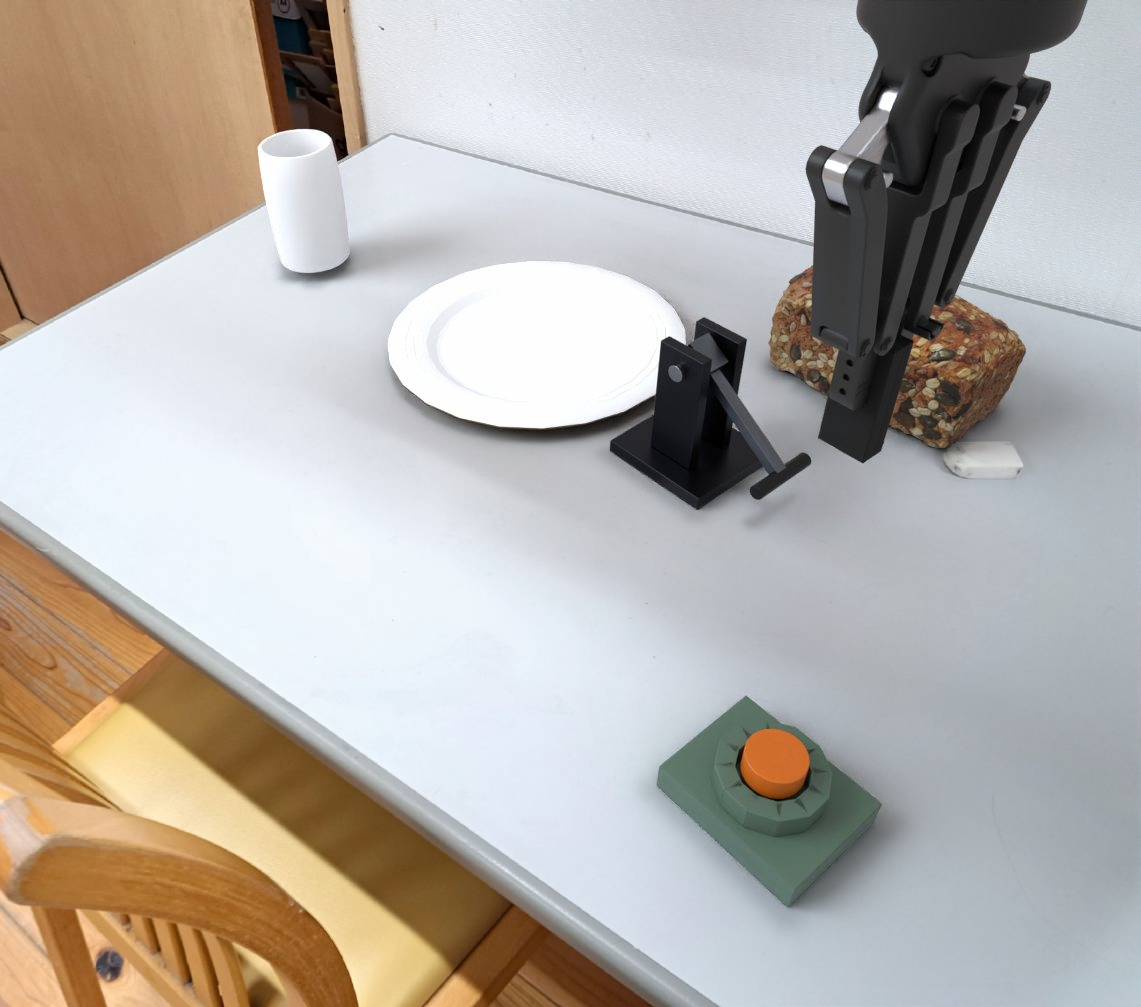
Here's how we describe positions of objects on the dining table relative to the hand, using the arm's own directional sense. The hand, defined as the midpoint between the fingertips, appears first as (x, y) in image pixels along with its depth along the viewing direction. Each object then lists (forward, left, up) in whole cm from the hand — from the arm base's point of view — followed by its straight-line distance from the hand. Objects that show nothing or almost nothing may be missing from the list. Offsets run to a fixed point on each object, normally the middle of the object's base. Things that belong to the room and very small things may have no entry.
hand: (849, 444), depth 49 cm
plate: (+42, -15, -22) cm, 50 cm away
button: (-4, +7, -18) cm, 20 cm away
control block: (-4, +7, -22) cm, 23 cm away
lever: (+17, -14, -16) cm, 27 cm away
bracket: (+21, -14, -22) cm, 33 cm away
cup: (+72, -8, -22) cm, 76 cm away
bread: (+16, -34, -22) cm, 44 cm away
